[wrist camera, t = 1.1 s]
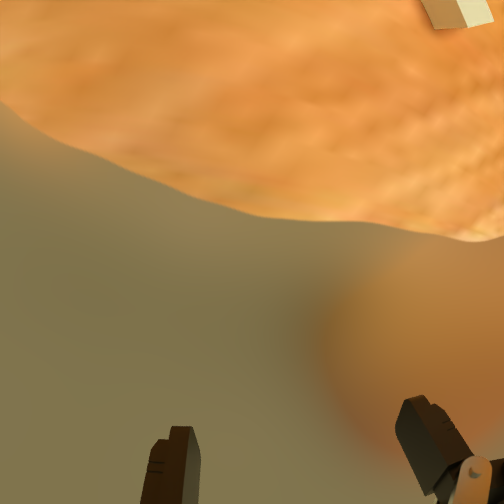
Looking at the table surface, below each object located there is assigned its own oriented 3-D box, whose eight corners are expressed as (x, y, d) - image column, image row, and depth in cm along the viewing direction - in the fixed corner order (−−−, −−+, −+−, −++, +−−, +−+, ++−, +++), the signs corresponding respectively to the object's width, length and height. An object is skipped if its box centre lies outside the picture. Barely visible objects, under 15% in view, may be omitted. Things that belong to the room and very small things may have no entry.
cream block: (415, -9, 21) (447, -18, 16) (444, -15, 20) (476, -21, 15) (434, 29, 23) (468, 27, 18) (460, 22, 22) (494, 21, 17)
